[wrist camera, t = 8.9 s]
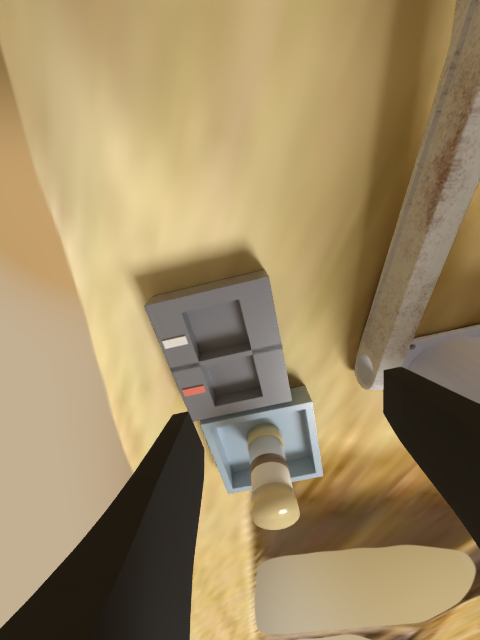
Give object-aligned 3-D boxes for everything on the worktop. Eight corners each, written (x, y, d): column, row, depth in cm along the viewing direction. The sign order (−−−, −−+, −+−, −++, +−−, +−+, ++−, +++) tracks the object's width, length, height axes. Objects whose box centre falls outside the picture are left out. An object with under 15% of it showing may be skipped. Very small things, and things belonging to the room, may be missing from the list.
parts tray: (305, 385, 21) (312, 401, 19) (316, 456, 25) (323, 475, 23) (202, 406, 22) (200, 424, 20) (228, 473, 25) (228, 493, 23)
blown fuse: (278, 420, 22) (295, 497, 16) (284, 445, 23) (302, 525, 17) (243, 427, 22) (247, 506, 16) (251, 451, 23) (258, 533, 17)
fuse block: (264, 269, 17) (268, 276, 15) (286, 384, 21) (292, 401, 19) (153, 296, 17) (143, 306, 16) (195, 403, 21) (192, 422, 20)
